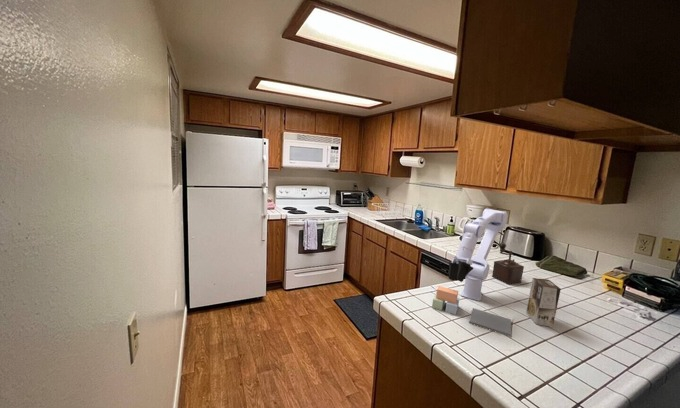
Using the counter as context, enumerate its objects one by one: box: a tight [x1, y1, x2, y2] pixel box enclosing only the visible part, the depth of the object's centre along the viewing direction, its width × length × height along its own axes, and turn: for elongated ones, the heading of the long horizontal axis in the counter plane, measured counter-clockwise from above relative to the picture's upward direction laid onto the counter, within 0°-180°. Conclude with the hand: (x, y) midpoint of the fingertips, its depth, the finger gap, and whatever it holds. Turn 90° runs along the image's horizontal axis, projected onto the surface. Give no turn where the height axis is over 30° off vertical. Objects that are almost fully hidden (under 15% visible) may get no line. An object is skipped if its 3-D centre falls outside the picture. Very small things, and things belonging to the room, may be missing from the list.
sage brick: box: [431, 292, 446, 311], centre depth 122 cm, size 8×4×4 cm, turn 150°
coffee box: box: [526, 277, 562, 328], centre depth 114 cm, size 9×6×16 cm
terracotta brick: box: [435, 285, 459, 304], centre depth 120 cm, size 8×4×4 cm, turn 62°
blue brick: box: [445, 297, 460, 316], centre depth 119 cm, size 8×4×4 cm, turn 150°
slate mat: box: [468, 307, 512, 337], centre depth 111 cm, size 12×14×1 cm
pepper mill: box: [491, 242, 525, 286], centre depth 155 cm, size 16×11×18 cm
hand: (455, 280), depth 116 cm, fingers open, 7 cm apart
